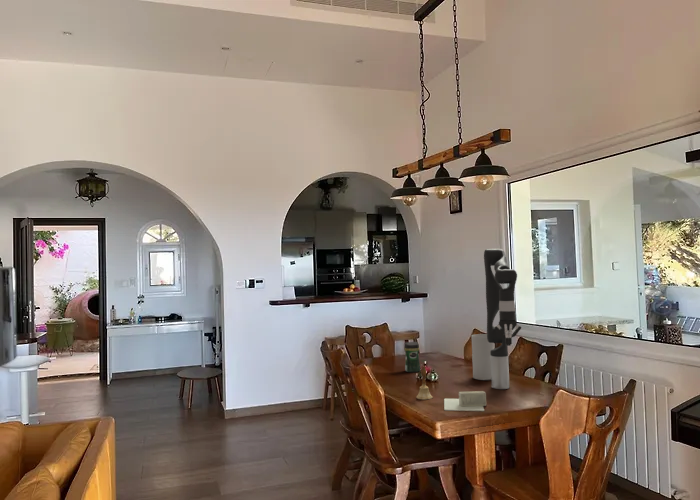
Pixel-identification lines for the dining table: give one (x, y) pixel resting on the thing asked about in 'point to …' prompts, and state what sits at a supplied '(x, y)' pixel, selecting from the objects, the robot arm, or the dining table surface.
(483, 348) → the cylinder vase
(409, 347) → the coffee jar
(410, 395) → the dining table surface
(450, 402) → the mat
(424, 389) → the hand bell
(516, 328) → the robot arm
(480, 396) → the skincare box
